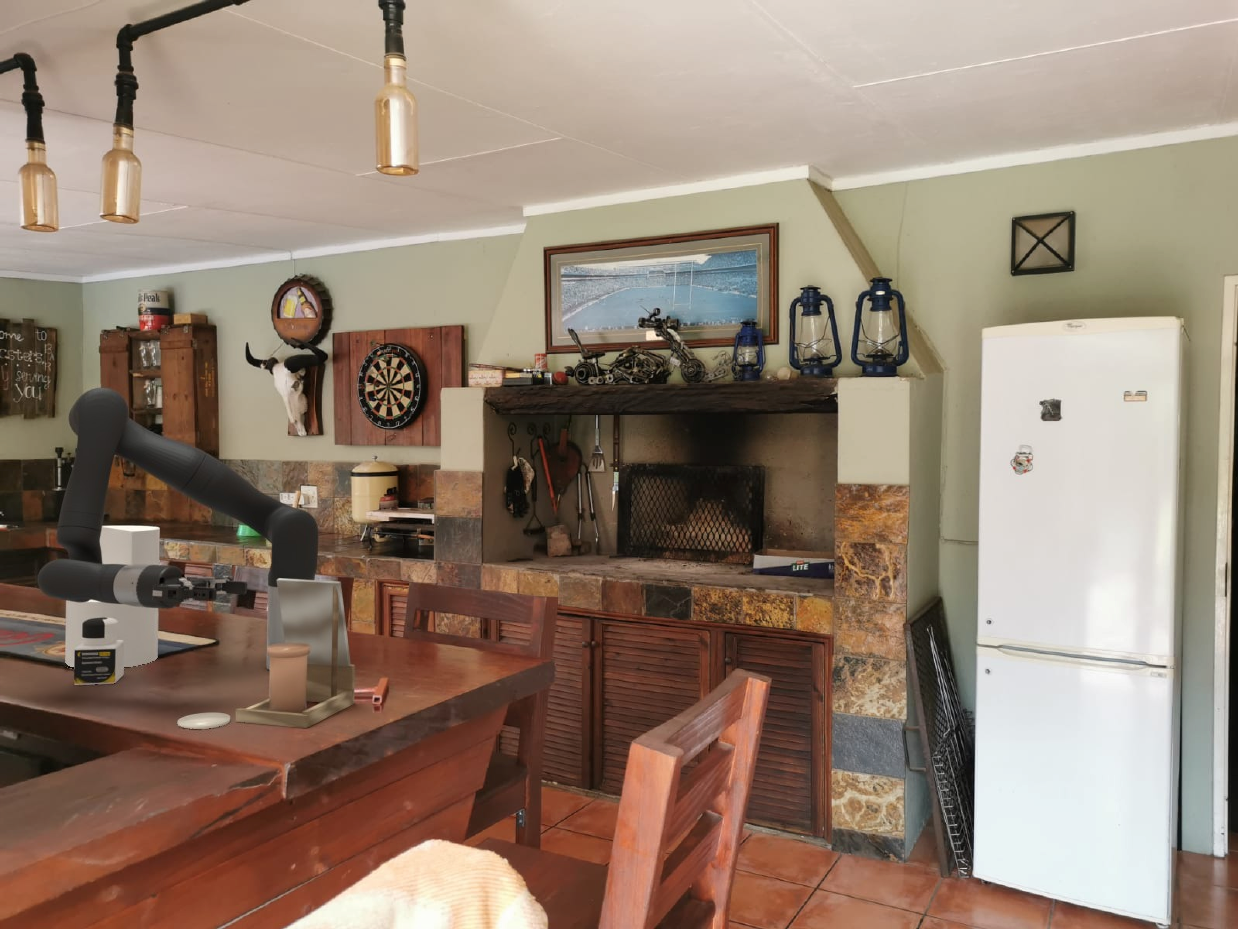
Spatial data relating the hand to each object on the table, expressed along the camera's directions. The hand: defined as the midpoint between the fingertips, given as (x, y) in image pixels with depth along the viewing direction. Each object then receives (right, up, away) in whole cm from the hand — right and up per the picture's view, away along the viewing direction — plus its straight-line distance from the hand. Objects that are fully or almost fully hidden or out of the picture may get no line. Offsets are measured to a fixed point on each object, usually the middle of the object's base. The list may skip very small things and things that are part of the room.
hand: (231, 591), depth 163 cm
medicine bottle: (-34, -20, +20) cm, 44 cm away
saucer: (-2, -21, -7) cm, 22 cm away
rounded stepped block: (-40, -20, +37) cm, 58 cm away
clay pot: (+10, -21, -2) cm, 24 cm away
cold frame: (+11, -21, +1) cm, 24 cm away
